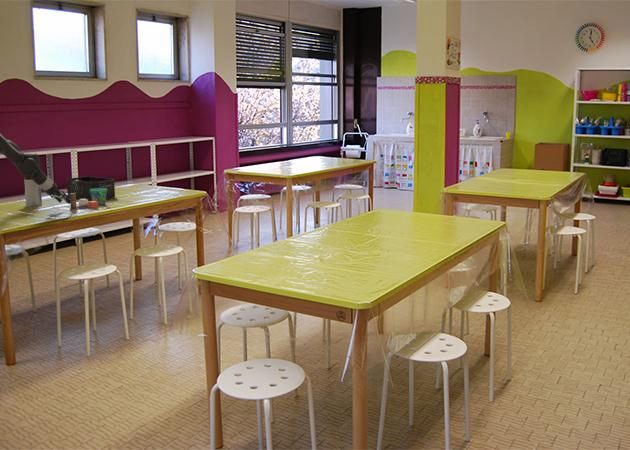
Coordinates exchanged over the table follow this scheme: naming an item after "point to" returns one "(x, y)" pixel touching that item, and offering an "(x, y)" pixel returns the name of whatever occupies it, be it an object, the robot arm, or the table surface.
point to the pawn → (73, 202)
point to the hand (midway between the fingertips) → (65, 202)
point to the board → (90, 205)
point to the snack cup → (99, 195)
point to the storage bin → (89, 187)
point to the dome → (83, 202)
